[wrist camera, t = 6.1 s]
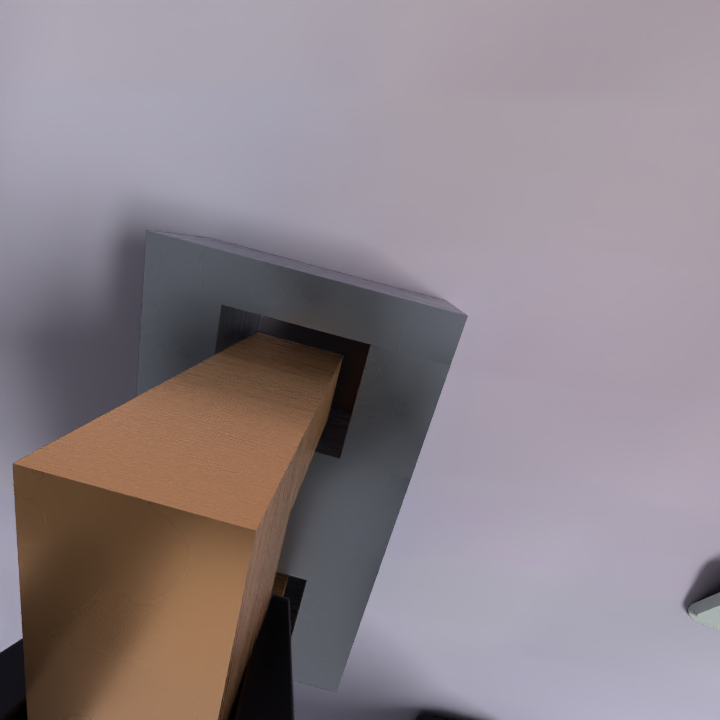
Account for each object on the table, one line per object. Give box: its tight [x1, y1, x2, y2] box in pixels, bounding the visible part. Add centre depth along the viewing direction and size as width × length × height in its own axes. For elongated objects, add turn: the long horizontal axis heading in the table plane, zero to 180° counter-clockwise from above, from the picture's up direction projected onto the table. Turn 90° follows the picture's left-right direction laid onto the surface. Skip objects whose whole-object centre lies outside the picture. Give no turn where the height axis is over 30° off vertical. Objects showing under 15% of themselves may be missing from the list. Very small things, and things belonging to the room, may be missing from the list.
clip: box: [13, 332, 344, 720], centre depth 8 cm, size 10×2×6 cm, turn 166°
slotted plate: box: [136, 230, 468, 692], centre depth 12 cm, size 14×8×3 cm, turn 166°
